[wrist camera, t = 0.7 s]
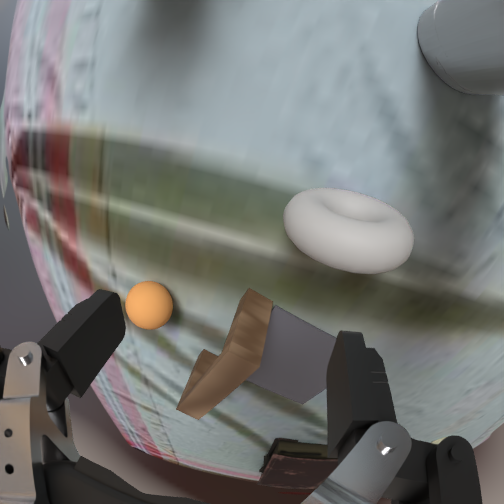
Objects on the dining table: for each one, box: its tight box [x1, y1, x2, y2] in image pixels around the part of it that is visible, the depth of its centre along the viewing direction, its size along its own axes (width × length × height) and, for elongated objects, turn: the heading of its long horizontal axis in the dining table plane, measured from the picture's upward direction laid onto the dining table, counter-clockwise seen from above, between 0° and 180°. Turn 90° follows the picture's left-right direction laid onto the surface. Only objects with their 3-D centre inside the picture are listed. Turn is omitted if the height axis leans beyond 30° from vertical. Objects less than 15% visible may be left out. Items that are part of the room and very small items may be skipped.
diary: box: [257, 438, 338, 489], centre depth 50 cm, size 19×25×5 cm
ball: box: [126, 281, 173, 329], centre depth 31 cm, size 6×6×6 cm
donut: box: [283, 188, 414, 274], centre depth 20 cm, size 10×4×10 cm, turn 85°
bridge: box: [176, 288, 273, 420], centre depth 30 cm, size 3×14×9 cm, turn 150°
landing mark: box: [246, 305, 337, 404], centre depth 35 cm, size 14×14×1 cm
